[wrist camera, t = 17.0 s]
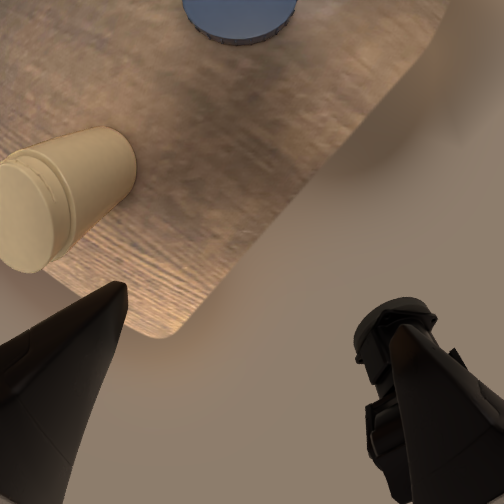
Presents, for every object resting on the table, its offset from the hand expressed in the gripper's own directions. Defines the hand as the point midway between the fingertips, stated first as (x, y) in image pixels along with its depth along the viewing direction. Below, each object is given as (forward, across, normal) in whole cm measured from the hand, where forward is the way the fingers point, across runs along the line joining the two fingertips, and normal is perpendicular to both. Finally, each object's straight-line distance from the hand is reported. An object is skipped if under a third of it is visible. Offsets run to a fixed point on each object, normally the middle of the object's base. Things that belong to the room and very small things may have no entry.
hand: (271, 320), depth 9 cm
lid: (+12, +4, -13) cm, 18 cm away
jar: (+13, +12, 0) cm, 18 cm away
